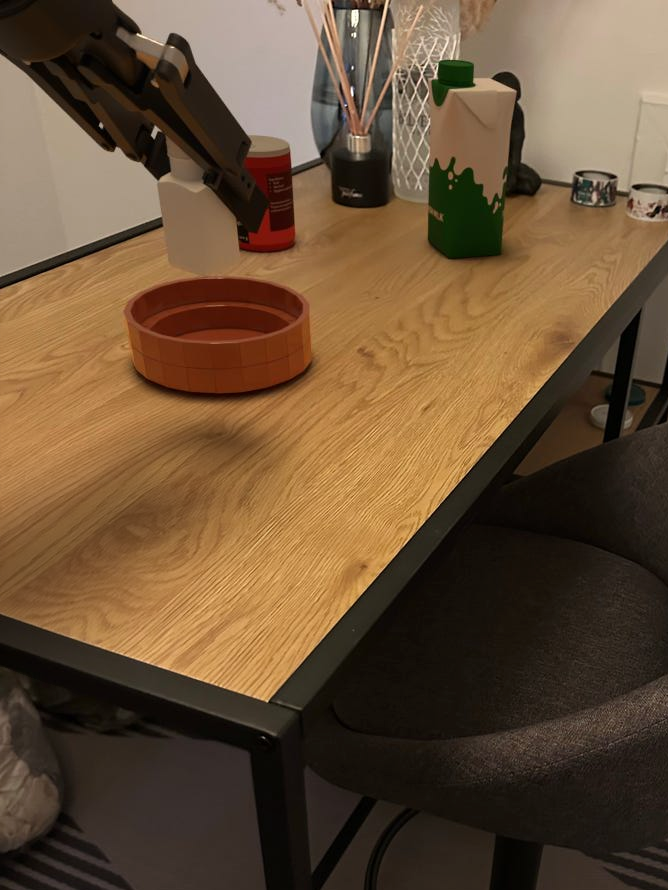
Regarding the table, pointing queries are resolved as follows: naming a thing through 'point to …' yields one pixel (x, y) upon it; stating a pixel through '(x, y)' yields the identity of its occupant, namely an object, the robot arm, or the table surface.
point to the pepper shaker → (195, 219)
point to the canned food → (271, 195)
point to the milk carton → (467, 160)
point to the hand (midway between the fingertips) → (231, 210)
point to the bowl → (219, 334)
